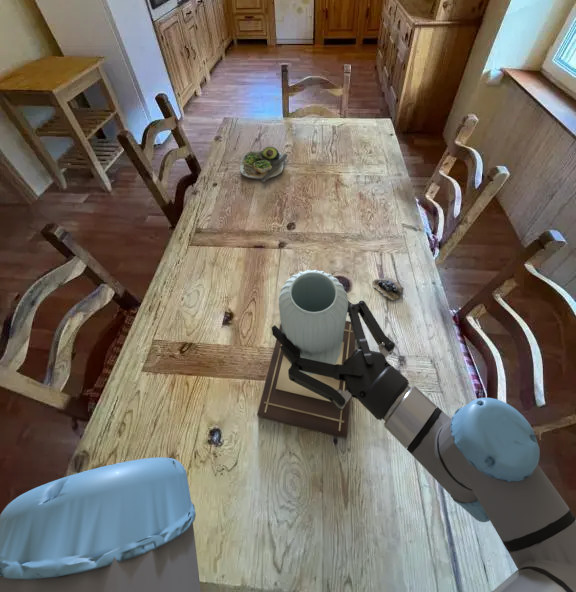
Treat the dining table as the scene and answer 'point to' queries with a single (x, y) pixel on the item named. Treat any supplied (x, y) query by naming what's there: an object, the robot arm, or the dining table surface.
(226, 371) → the dining table surface
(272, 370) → the picture frame
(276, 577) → the dining table surface
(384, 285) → the brown flat lumpy piece
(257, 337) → the dining table surface
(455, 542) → the dining table surface
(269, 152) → the avocado toast plate
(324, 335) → the vase
